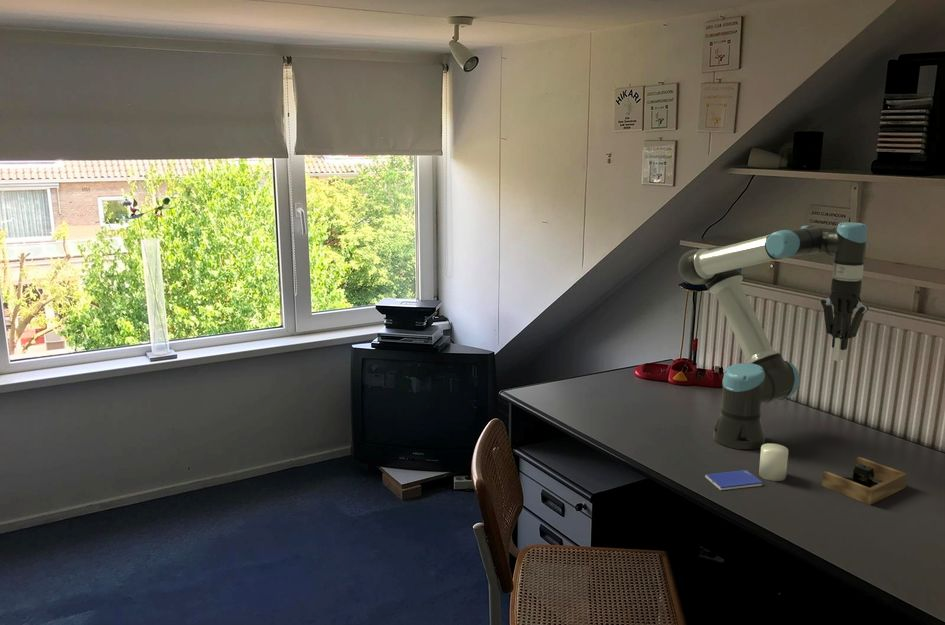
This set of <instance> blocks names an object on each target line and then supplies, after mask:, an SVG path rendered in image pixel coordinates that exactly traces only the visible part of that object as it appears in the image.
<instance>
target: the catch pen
mask: <svg viewBox="0 0 945 625" xmlns="http://www.w3.org/2000/svg"><path fill="white" fill-rule="evenodd" d="M859 464H863V465H866V467H871V468H874V470H873V472H874V479H876V480H879V481H880V482H879V484H877V485H875V486H873V487H871V488H869V487H866V486H864V485H861V484H858V483H856V482H853V481H851V480H848V479H845V478H843V477H842V476H841V475H837V474H835V473H832V472H829V471H827V470H825V471H823V473H822V481H821V486H822V487H824V488H826V489H829V490H832V491H834V492H836V493H838V494H841V495H844V496H847V497H849V498H851V499H854V500H856V501H859V502H862V503H863V504H866V505H869V506H871V505H874V504H875V503H877V502H879V501H881V500H884V499H886V498H887V497H890V496H891V495H894V494H896V493H897V492H899V491H901V490H904V489H905V488H906V487H907V479H908V473H906V472H904V471H900V470H899V469H896V468H892V467H889V466H887V465H884V464H881V463H878V462H875V461H872V460H869V459H867V458H864V457H861V456H857V457H856V461H855V466H857V465H859Z"/></svg>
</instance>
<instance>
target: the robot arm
mask: <svg viewBox="0 0 945 625" xmlns="http://www.w3.org/2000/svg"><path fill="white" fill-rule="evenodd" d="M867 237H868V226H867V225H866V224H864V223H861V222H851V221H849V222H848V221H847V222H846V221H845V222H844V221H843V222H840V223H839V222H838V225H837V227H836V228H831V227H825V226H817V225H802V226H800V227H799V228H797V229H781V230H778V231H774V232H772V233H770V234H767V235H764V236H759V237H755V238H752V239H751V238H750V239H749V240H743V241H740V242H737V243H732V244H729V245H725V246H722V245H720V246H719V245H717V246H714V247H713V246H712V247H705V248H695V249H691V250H688V251H687V252H685V253H683V254H682V255H681V257H680V258H679V262H678V265H677V267H678V273H679V275H680V277H681V278H682V279H683V281H685V282H686V283H689V284H691V285H705V286H706V288H707V290H708V292H709V293H710V294H713V295H715V297H716V299H717V300H718V302H719V305H720V307H721V309H722V311H723V314H724V315H725V317H726V320H727V322H728V324H729V327H730V328H731V330H732V332H733V334H734V336H735V339H736V341H737V343H738V345H739V347H740V349H741V351H742V354H743V356H744V358H745V360H746V362H745V363H734V364H731V365H729V366H728V367H727V368H726V369H725V370H724V372H723V378H722V383H721V384H722V386H721V387H722V389H721V390H722V391H721V403H720V404H721V406H720V407H721V408H720V415H719V417H718V420H717V421H716V424H715V426H714V428H713V435H712V438H713V440H714V441H715V442H716V443H717V444H720V445H722V446H724V447H727V448H732V449H738V450H755V449H759V448H760V449H761V446H762V445H763V444H766V443H765V442H766V435H765V431H764V428H763V424H762V423H763V422H762V419H761V418H762V408H763V405H766V404H770V403H774V402H777V401H784V400H786V399H787V398H790V397H792V396H793V395H795V393H796V392H797V391H798V389H799V385H800V378H801V377H800V373H799V371H798V369H797V367H796V366H795V365H794V363H791V362H790V361H787V360H784V358H783V356H782V353H781V352H779V351H777V350H774V349H773V347H772V345H771V342H770V341H769V338H768V337H767V335H766V333H765V331H764V329H763V326H762V324H761V322H760V321H759V319H758V316H757V314H756V312H755V310H754V308H753V307H752V304H751V302H750V299H749V297H748V296H747V294H746V292H745V289H744V288H743V286H742V281H743V279H744V277H743V271H744V268H747V267H751V266H755V265H759V264H764V263H768V262H773V261H777V260H783V259H787V258H791V257H792V258H794V257H797V256H807V255H813V254H816V255H817V254H818V255H819V254H821V255H829V256H834V257H833V267H832V268H833V269H832V277H833V278H832V279H831V285H830V291H831V292H830V294H829V296H828V298H824V299H821V300H820V304H821V306H822V309H823V316H824V326H825V333H826V334H829V335H831V337H832V339H831V340H832V341H831V347H832V348H833V355H832V360H833V361H836V362H840V361H842V360H844V356H845V350H847V349H848V344H849V339H853V338H856V337H857V334H858V332H859V329H860V326H861V323H862V320H863V318H864V316H865V313H867V312H868V310H869V306H868V305H864V304H863V303H862V300H861V297H860V296H861V291H862V283H863V281H862V280H861V279H862V278H863V275H864V264H865V255H866V248H867V242H868V238H867ZM855 309H856V312H855V313H854V310H855ZM853 314H854V316H853ZM852 316H853V318H852Z"/></svg>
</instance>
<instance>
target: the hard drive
mask: <svg viewBox="0 0 945 625" xmlns="http://www.w3.org/2000/svg"><path fill="white" fill-rule="evenodd" d="M704 477H705V478H706V480H708V481H709V482H710V483H712V484H713V485H714V486H715V487H716V488H718V489H719V491H725V490H726V491H727V490H735V489H744V488H751V487H752V488H753V487H761V486H763V481H762V480H760V479H759V478H758V477H756V476H755V475H754V474H753V473H751V472H750V471H748V470H747V469H743V470H734V471H726V472H725V471H724V472H716V473H708V474H705V476H704Z"/></svg>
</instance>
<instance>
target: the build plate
mask: <svg viewBox="0 0 945 625" xmlns="http://www.w3.org/2000/svg"><path fill="white" fill-rule="evenodd" d="M873 470H874V468H871V467H866V465H863V464H859V465H857V466H856V465H855V466H854V468H853V471H852V472H849V473H847V474H844V475H841V477H843V478H845V479H848V480H851V481H853V482H856V483H858V484H861V485H864V486H866V487H869V488H871V487H873V486H875V485H877V484H879V483H880V482H879V481H877V480H874V479H875V478H874V472H873Z"/></svg>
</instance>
